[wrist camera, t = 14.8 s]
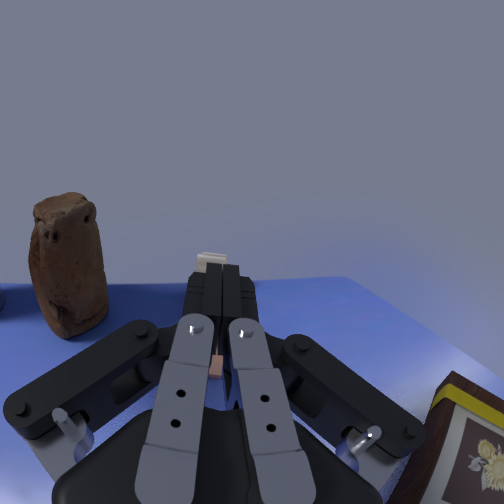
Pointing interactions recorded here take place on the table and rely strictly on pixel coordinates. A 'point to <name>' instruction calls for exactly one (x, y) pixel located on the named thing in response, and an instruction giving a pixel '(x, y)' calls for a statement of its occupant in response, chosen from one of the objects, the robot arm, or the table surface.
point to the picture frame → (457, 449)
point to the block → (68, 264)
